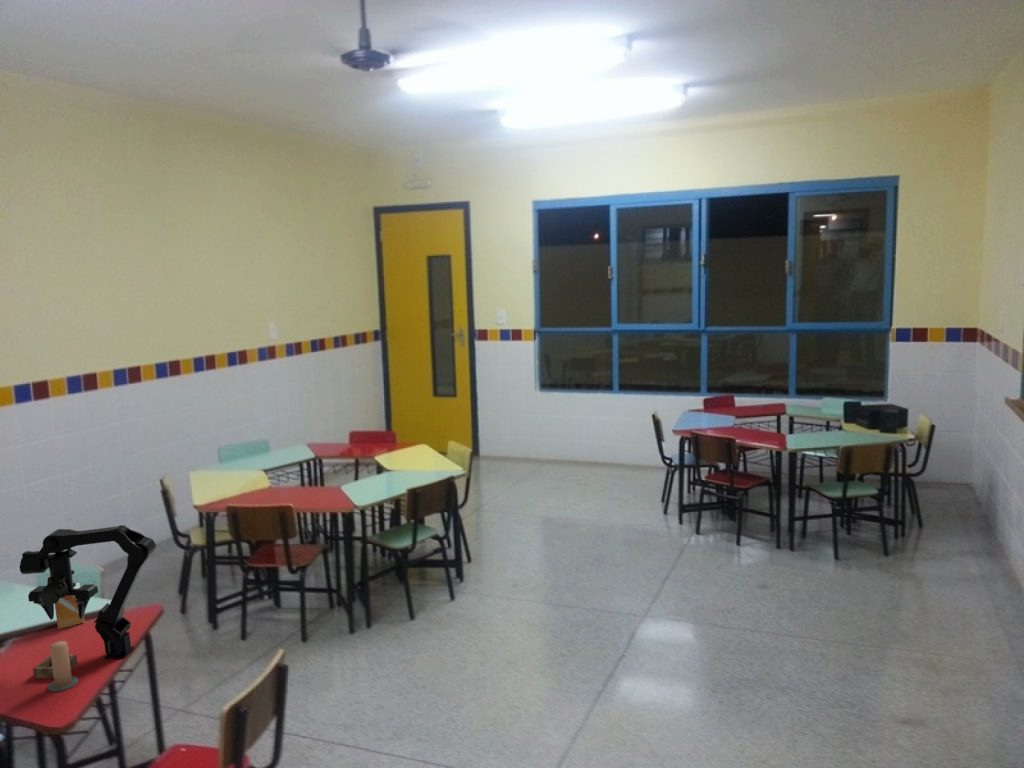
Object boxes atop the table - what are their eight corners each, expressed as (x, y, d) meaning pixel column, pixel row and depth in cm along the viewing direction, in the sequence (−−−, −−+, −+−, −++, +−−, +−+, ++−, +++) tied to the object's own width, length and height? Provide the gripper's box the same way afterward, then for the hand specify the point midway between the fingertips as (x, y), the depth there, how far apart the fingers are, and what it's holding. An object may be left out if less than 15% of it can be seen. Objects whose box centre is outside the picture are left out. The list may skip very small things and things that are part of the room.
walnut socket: (77, 663, 233) (76, 654, 233) (60, 677, 225) (59, 668, 225) (52, 664, 234) (50, 654, 233) (34, 678, 226) (33, 668, 225)
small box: (58, 630, 257) (53, 593, 255) (57, 623, 262) (52, 587, 261) (85, 623, 262) (80, 587, 260) (83, 616, 267) (79, 581, 265)
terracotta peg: (72, 677, 224) (67, 639, 223) (72, 684, 220) (67, 645, 219) (54, 682, 222) (49, 643, 220) (54, 688, 218) (49, 649, 217)
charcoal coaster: (83, 677, 225) (83, 676, 225) (68, 691, 217) (67, 690, 217) (59, 677, 225) (59, 676, 225) (42, 691, 218) (42, 690, 218)
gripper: (13, 582, 225) (20, 631, 227) (75, 580, 225) (81, 629, 227) (36, 568, 236) (43, 615, 238) (96, 566, 236) (101, 613, 238)
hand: (66, 618), depth 235 cm, fingers open, 9 cm apart
